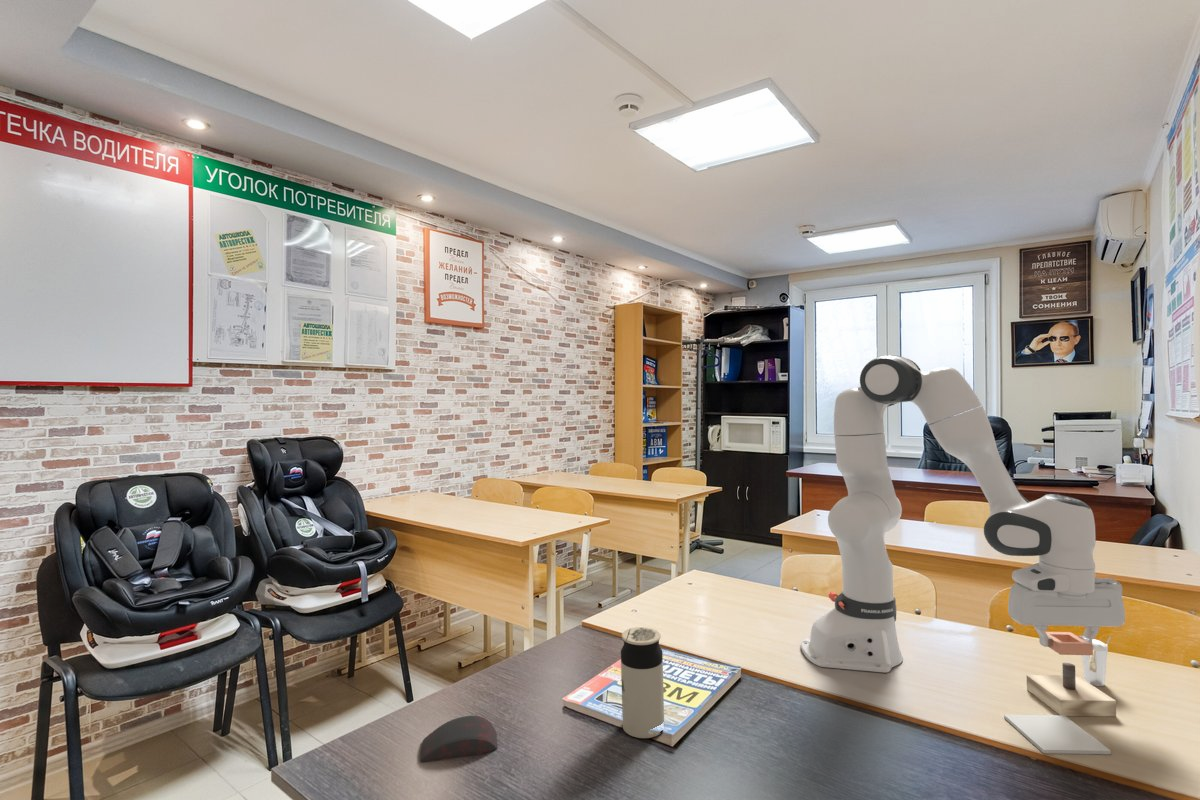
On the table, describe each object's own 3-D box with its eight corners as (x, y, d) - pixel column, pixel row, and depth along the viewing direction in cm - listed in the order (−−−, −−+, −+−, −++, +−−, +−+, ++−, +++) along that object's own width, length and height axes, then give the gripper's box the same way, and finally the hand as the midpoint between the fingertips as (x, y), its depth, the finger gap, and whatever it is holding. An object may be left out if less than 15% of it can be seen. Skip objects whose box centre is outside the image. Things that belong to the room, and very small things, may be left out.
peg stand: (1061, 715, 112) (1060, 676, 112) (1026, 689, 122) (1026, 653, 122) (1116, 716, 112) (1115, 677, 112) (1077, 689, 122) (1076, 653, 122)
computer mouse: (498, 755, 106) (497, 733, 105) (419, 767, 103) (418, 744, 103) (496, 730, 113) (495, 709, 113) (423, 740, 111) (422, 719, 110)
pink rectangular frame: (1060, 654, 114) (1060, 644, 114) (1039, 641, 120) (1039, 631, 120) (1092, 655, 114) (1092, 645, 114) (1070, 641, 120) (1070, 632, 120)
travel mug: (668, 719, 115) (666, 628, 114) (659, 743, 107) (656, 645, 107) (629, 713, 117) (626, 624, 117) (617, 736, 110) (614, 640, 110)
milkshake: (1118, 689, 121) (1117, 641, 121) (1088, 687, 123) (1088, 639, 122) (1104, 678, 126) (1103, 632, 126) (1075, 676, 127) (1075, 631, 127)
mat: (1043, 753, 101) (1043, 749, 101) (1004, 717, 112) (1004, 714, 112) (1110, 754, 100) (1110, 750, 100) (1064, 718, 111) (1064, 715, 111)
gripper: (1108, 572, 119) (1108, 640, 120) (1003, 571, 121) (1003, 638, 121) (1134, 583, 113) (1133, 654, 113) (1023, 582, 114) (1023, 652, 115)
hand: (1065, 645), depth 117 cm, fingers closed on pink rectangular frame, 6 cm apart
